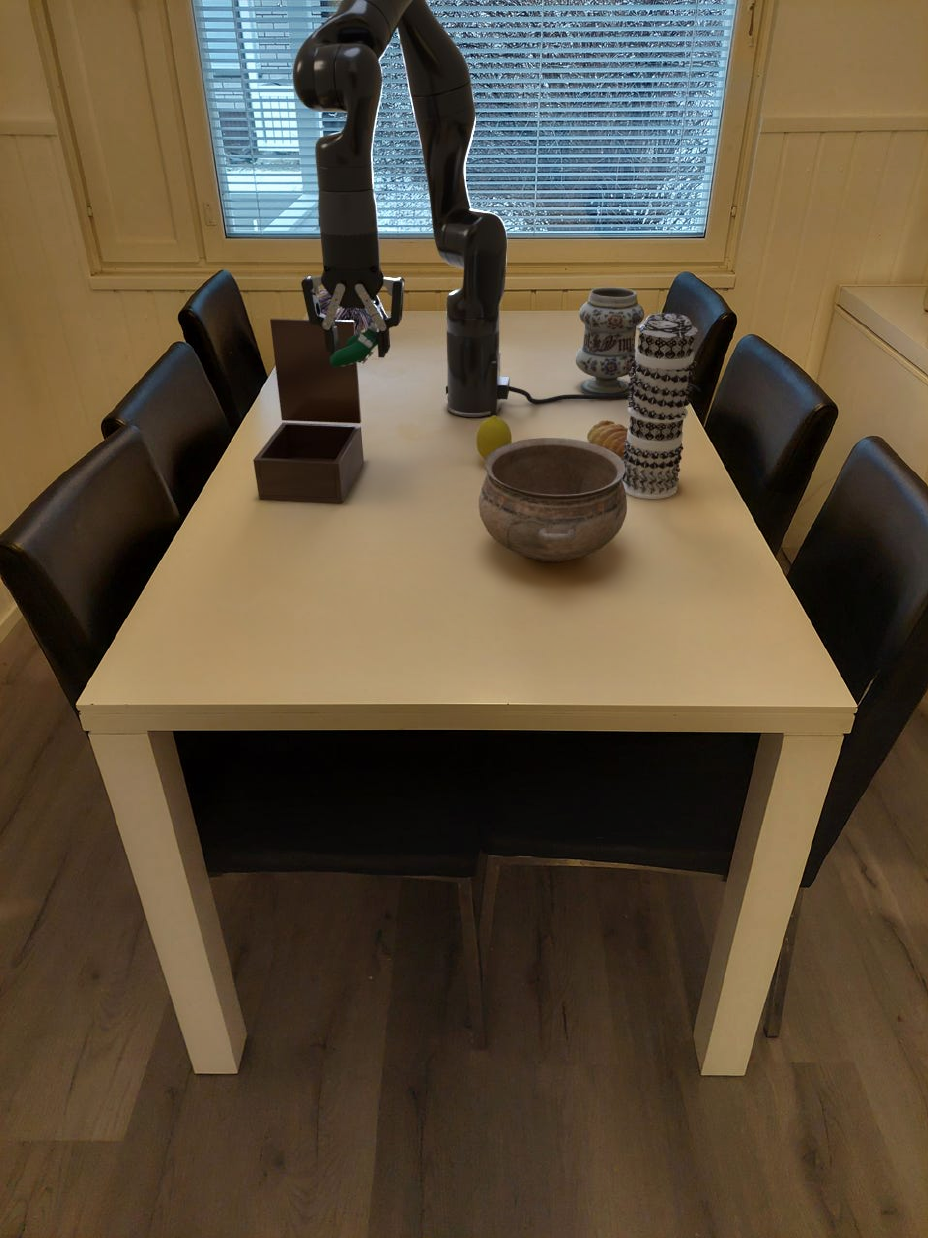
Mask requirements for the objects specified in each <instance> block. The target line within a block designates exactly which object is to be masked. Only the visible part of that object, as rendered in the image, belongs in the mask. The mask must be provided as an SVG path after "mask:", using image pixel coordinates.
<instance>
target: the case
mask: <svg viewBox="0 0 928 1238" xmlns="http://www.w3.org/2000/svg"><path fill="white" fill-rule="evenodd" d="M362 434H363V433H362V425H360V424H359V425H358V424H336V423H335V424H333V423H332V424H331V423H309V422H306V423H305V422H285V421H284V422H282V423H281V424H280V425H279V427H278V428H277V429H276V430H275V431H274V433H273V434H272V436H271V437H270V438H268V441H267V442H266V443H265V444H264V445H263V447H262V448H261V449H260V450H259V452H258V453H257V455H256V456H255V457H254V458H253V460H252V461H253V467H254V468H253V469H254V474H255V480H256V487H257V494H258V499H259V500H268V501H288V502H306V503H307V502H308V503H309V502H310V503H329V504H330V503H331V504H343V503H344V501H345V499H346V498H347V496H348V493H349V492H350V489H351V488H352V486H353V484H354V482H355V480H356V478H357V476H358V474H359V472H360V470H361V469H362V467H363V465H364V463H365V462H364V461H365V460H364V447H363V435H362Z"/></svg>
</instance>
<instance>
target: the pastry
mask: <svg viewBox="0 0 928 1238" xmlns="http://www.w3.org/2000/svg"><path fill="white" fill-rule="evenodd" d="M628 429H629V427H628V428H627V427H625V426H624V425H623V424H620V423H615V422H614V421H611V420H608V419H606V420H601V421H599V422H598V423H596V424H594V425H593V426H592V427H591V428H590V430H589V432H588V433H587V442H588V443H592V444H596V445H598V446H601V447H604V448H606V449H608V450H610V451H612V452H613V453H615V454H616V455H617V456H619V457H620V459H621V460H625V458H624V454H623V452H624V451H625V450H626V448H625V444H624V442H625V441H626V440H627V432H628Z"/></svg>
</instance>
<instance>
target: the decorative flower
mask: <svg viewBox="0 0 928 1238" xmlns="http://www.w3.org/2000/svg"><path fill="white" fill-rule="evenodd" d="M317 295H321V296H318V299H319V304H320V309H321V314H324V315H326V313H327V309H328V307H329V304H330V302H331V299H332V297H331V296H330V294H329V293H328V292H327V290H326V289H325V288H323V289H320V291H319V292H318V293H317ZM336 320H341V321H354V323H355V335H356V334H360V333H363V330H364V332H365V331H367V329H368V328H369V327H370V326H371V323H373V324H375V325H376V323H375V322H374V320H373V318H372V317H371V316H370V315H369V313H368V311H367V309H366V308H365V309H358V308H355V307H351V308H342V307H341V309H340V311H339V313H338V315H337V318H336ZM376 326H377V325H376Z"/></svg>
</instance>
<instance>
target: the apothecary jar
mask: <svg viewBox="0 0 928 1238" xmlns="http://www.w3.org/2000/svg"><path fill="white" fill-rule="evenodd" d="M582 304H583V305H582V306H581V307H580V309H579V312H578V315H579V317H578V318H579V320H580V321H581V323H583V324H584V333H583V341H582V347H580V349H579V350H578V351H577V352H576V354H575V357H574V360H575V365H576V366H577V368H578V369H579V370H580V371H581V372H582V373H584V374H586V375H588V376H591V378H589V379H587V380H585V381H583V382H582V383H581V384H580V385H579V390H580V392H582V394H622V393H631V392H630V391H629V386H628V384H629V382H627V381H624V380H622V379H620V378H622V377H626V376H629V373H630V372H631V369H632V366H631V365H630V363H631V362H630V358H631V357H632V356H635V354H636V349H637V348H636V338H637V337H636V336H637V327H638V325H640V324H642V323H643V322H644V319H645V311H644V309H643V308H644V307H642V305H641V304H640V303H639V300H638V294H637V292H636V291H635V290H633V289H631V288H626V287H618V286H617V287H615V286H602V287H601V286H600V287H595V288H593V289H591V290H590V291H589V297H588V299H587V301H586V302H584V303H582ZM635 361H636V360H635ZM636 365H637V362H636Z"/></svg>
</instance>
